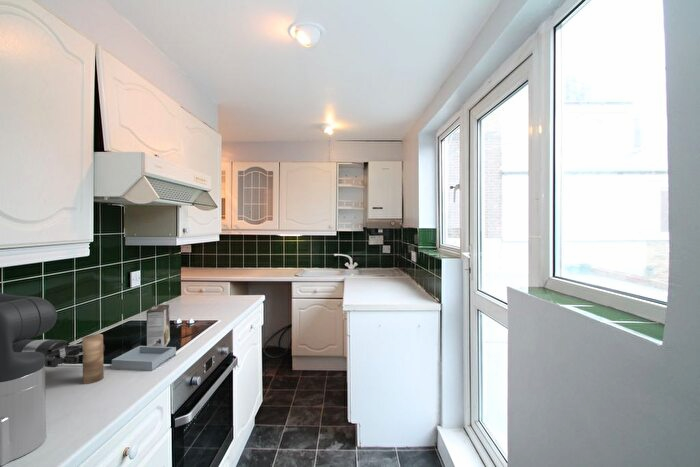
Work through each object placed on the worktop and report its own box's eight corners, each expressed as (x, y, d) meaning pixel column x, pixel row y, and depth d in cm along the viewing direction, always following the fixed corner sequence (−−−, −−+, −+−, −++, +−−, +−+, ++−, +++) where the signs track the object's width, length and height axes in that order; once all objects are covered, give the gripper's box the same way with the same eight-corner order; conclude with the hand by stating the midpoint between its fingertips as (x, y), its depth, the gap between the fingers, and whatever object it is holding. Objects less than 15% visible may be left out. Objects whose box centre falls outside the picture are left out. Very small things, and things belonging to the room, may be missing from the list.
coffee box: (152, 342, 123) (152, 305, 122) (170, 340, 125) (169, 303, 125) (146, 351, 114) (145, 311, 114) (164, 348, 116) (164, 309, 116)
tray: (152, 370, 98) (151, 361, 98) (111, 368, 100) (111, 359, 100) (176, 355, 110) (175, 347, 110) (139, 353, 112) (139, 345, 112)
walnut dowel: (93, 384, 90) (92, 340, 90) (78, 383, 90) (77, 339, 90) (107, 376, 95) (107, 334, 95) (93, 375, 95) (93, 333, 95)
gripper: (19, 349, 87) (67, 351, 85) (69, 332, 101) (111, 334, 100) (19, 374, 87) (68, 376, 86) (69, 353, 101) (111, 355, 100)
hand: (91, 353), depth 93 cm, fingers open, 8 cm apart
